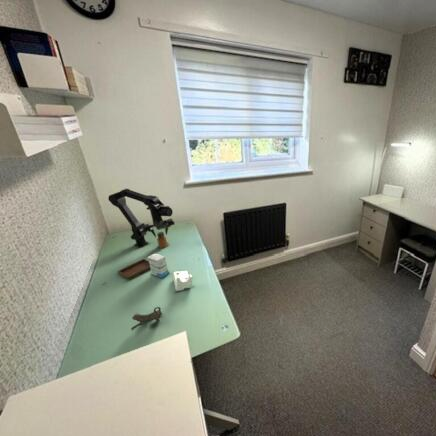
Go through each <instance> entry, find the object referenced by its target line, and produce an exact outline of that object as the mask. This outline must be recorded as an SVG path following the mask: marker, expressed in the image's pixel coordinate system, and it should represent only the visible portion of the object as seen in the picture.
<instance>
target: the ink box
mask: <svg viewBox="0 0 436 436" xmlns="http://www.w3.org/2000/svg"><path fill="white" fill-rule="evenodd" d="M147 260H148V261H149V264H150V268H151V269H150V271H151V274H152V275H153V276H156V277H159V278H161V279H163V278H165V277H166V276H168V275H169V269H168V268H169V267H168V264H167V260H166V257H165V256H164V255H161V254H158V253H153V254H150V255H149V256H147Z"/></svg>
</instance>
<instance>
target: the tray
mask: <svg viewBox="0 0 436 436" xmlns="http://www.w3.org/2000/svg"><path fill="white" fill-rule="evenodd" d="M149 270H150V271H151V268H150V264H149V261H148V259H146V258H142V259H140V260H138V261H136V262H134V263H132V264H130V265H127V266H125V267H123V268H121V269H118V270H117V273H118V275H120V276H122V277H123V278H124V279H127V280H128V281H131V280H133V279H134V278H136V277H138V276H140V275H142V274H144V273H146V272H147V271H149Z"/></svg>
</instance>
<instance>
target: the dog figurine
mask: <svg viewBox="0 0 436 436" xmlns="http://www.w3.org/2000/svg"><path fill="white" fill-rule="evenodd" d="M162 315H163V312H162V309H161V307H160V306H156V307H154V308H153V311H152V312H151V313H148V314H140V313H138V312H137V313H135V314H133V316H132V317H131V319H132V320H133V321H136V322H139V323H137V324H135V325H134V326H132V327H131V328H130V330H131V331H133V330H134V329H136V328H138V327H140V326H144V325H145V324H147V323H150V322H152V321H154V320H155V321H154V322H153V323H152V324H151V325H150V326H151V328H153V327H154V326H155V325H157V324H158V323H159V322H160V318H161V316H162Z"/></svg>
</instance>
